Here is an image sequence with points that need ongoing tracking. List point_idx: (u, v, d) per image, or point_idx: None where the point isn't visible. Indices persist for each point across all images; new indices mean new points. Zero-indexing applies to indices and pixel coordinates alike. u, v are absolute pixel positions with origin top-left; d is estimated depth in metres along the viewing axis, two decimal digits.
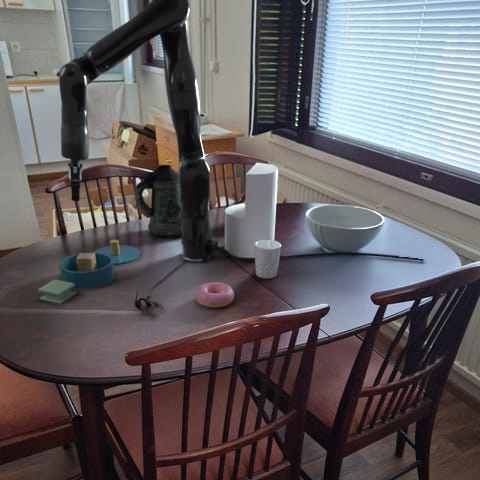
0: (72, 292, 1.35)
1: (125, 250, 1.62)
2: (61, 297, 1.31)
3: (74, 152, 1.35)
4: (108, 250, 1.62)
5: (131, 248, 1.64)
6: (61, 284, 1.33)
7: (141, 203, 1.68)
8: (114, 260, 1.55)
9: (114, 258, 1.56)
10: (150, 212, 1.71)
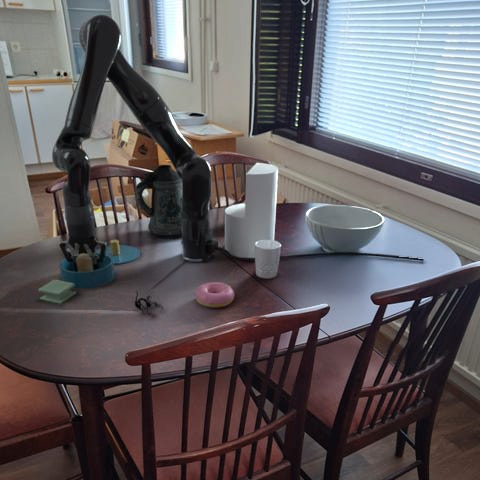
0: (72, 292, 1.35)
1: (125, 250, 1.62)
2: (61, 297, 1.31)
3: (94, 228, 1.37)
4: (108, 250, 1.62)
5: (131, 248, 1.64)
6: (61, 284, 1.33)
7: (141, 203, 1.68)
8: (114, 260, 1.55)
9: (114, 258, 1.56)
10: (150, 212, 1.71)
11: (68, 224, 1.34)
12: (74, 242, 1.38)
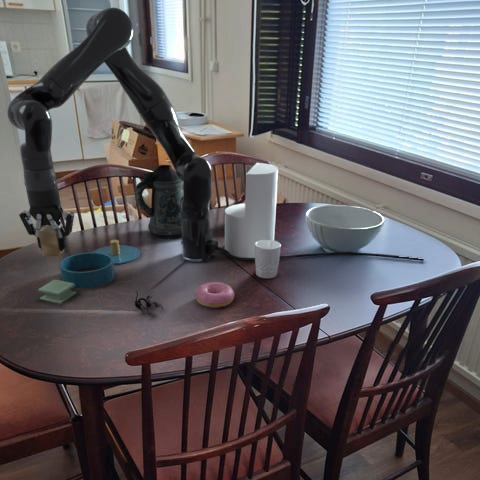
0: (72, 292, 1.35)
1: (125, 250, 1.62)
2: (61, 297, 1.31)
3: (58, 196, 1.21)
4: (108, 250, 1.62)
5: (131, 248, 1.64)
6: (61, 284, 1.33)
7: (141, 203, 1.68)
8: (114, 260, 1.55)
9: (114, 258, 1.56)
10: (150, 212, 1.71)
11: (28, 191, 1.18)
12: (36, 212, 1.22)
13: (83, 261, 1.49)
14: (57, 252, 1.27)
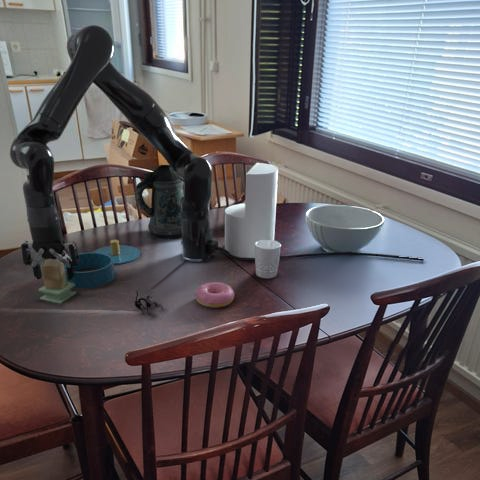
0: (72, 292, 1.35)
1: (125, 250, 1.62)
2: (61, 297, 1.31)
3: (60, 231, 1.24)
4: (108, 250, 1.62)
5: (131, 248, 1.64)
6: None
7: (141, 203, 1.68)
8: (114, 260, 1.55)
9: (114, 258, 1.56)
10: (150, 212, 1.71)
11: (31, 227, 1.21)
12: (39, 248, 1.26)
13: (83, 261, 1.49)
14: (59, 285, 1.30)
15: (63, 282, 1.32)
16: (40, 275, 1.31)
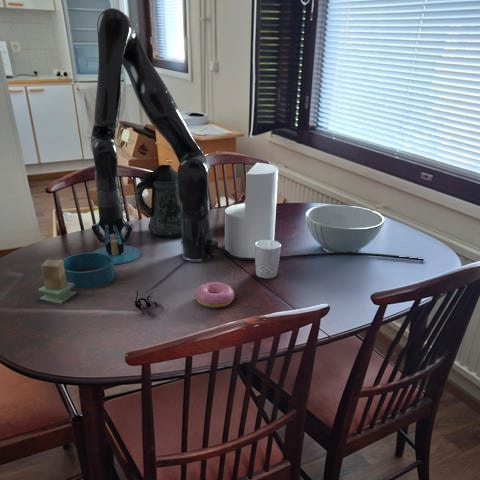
0: (72, 292, 1.35)
1: (125, 250, 1.62)
2: (61, 297, 1.31)
3: (122, 211, 1.52)
4: None
5: (131, 248, 1.64)
6: None
7: (141, 203, 1.68)
8: (114, 260, 1.55)
9: (114, 258, 1.56)
10: (150, 212, 1.71)
11: (99, 207, 1.49)
12: (104, 223, 1.53)
13: (83, 261, 1.49)
14: (59, 285, 1.30)
15: (63, 282, 1.32)
16: None
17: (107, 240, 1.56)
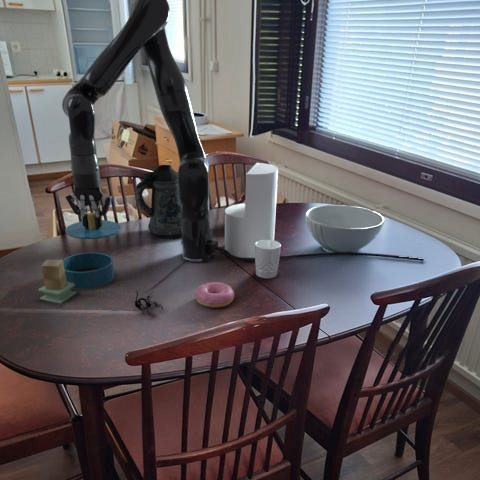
0: (72, 292, 1.35)
1: (104, 225, 1.48)
2: (61, 297, 1.31)
3: (99, 179, 1.37)
4: None
5: (111, 223, 1.49)
6: None
7: (141, 203, 1.68)
8: (90, 234, 1.40)
9: (90, 232, 1.41)
10: (150, 212, 1.71)
11: (74, 174, 1.34)
12: (79, 193, 1.38)
13: (83, 261, 1.49)
14: (59, 285, 1.30)
15: (63, 282, 1.32)
16: None
17: (83, 212, 1.41)
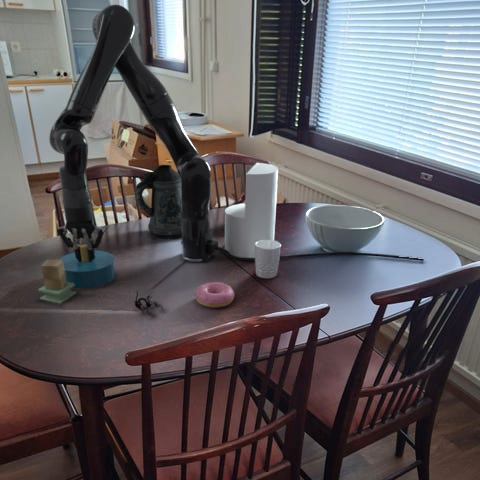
0: (72, 292, 1.35)
1: (97, 256, 1.45)
2: (61, 297, 1.31)
3: (91, 212, 1.35)
4: None
5: (104, 254, 1.46)
6: None
7: (141, 203, 1.68)
8: (83, 268, 1.37)
9: (83, 265, 1.39)
10: (150, 212, 1.71)
11: (65, 208, 1.31)
12: (71, 226, 1.36)
13: None
14: (59, 285, 1.30)
15: (63, 282, 1.32)
16: None
17: (76, 245, 1.38)
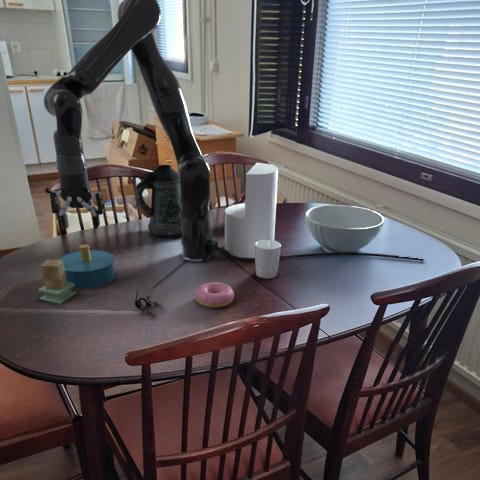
0: (72, 292, 1.35)
1: (97, 256, 1.45)
2: (61, 297, 1.31)
3: (87, 180, 1.30)
4: (78, 256, 1.45)
5: (104, 254, 1.46)
6: None
7: (141, 203, 1.68)
8: (83, 268, 1.37)
9: (83, 265, 1.39)
10: (150, 212, 1.71)
11: (60, 174, 1.27)
12: (66, 196, 1.31)
13: None
14: (59, 285, 1.30)
15: (63, 282, 1.32)
16: (67, 224, 1.37)
17: (63, 212, 1.33)
